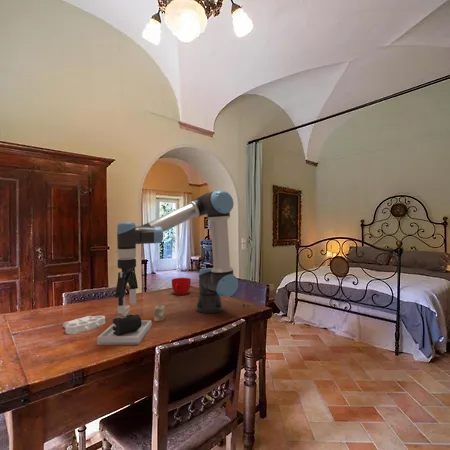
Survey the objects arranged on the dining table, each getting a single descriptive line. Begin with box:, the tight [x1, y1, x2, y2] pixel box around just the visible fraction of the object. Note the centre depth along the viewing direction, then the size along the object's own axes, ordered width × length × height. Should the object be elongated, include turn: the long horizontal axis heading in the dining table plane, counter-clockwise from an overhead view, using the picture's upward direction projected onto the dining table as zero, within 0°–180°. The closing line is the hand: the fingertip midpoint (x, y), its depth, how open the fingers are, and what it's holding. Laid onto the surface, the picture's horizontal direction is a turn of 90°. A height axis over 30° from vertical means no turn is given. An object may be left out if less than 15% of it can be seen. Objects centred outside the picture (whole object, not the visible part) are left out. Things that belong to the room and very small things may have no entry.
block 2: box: [153, 305, 166, 322], centre depth 142 cm, size 4×6×6 cm, turn 0°
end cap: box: [112, 314, 142, 336], centre depth 121 cm, size 10×7×7 cm
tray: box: [96, 319, 153, 346], centre depth 121 cm, size 16×20×3 cm
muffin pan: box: [62, 315, 106, 335], centre depth 131 cm, size 3×18×15 cm
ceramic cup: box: [171, 277, 192, 296], centre depth 193 cm, size 13×17×10 cm
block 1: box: [116, 305, 131, 318], centre depth 142 cm, size 4×6×6 cm, turn 0°
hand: (127, 308), depth 121 cm, fingers open, 13 cm apart
